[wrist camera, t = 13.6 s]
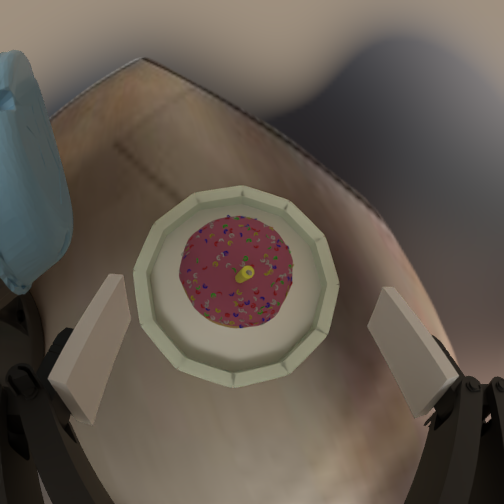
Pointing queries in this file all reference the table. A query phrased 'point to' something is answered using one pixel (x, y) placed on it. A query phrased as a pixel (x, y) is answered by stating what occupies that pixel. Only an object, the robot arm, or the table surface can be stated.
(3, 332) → the robot arm
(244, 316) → the cupcake
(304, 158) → the table surface
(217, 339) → the rimmed plate
